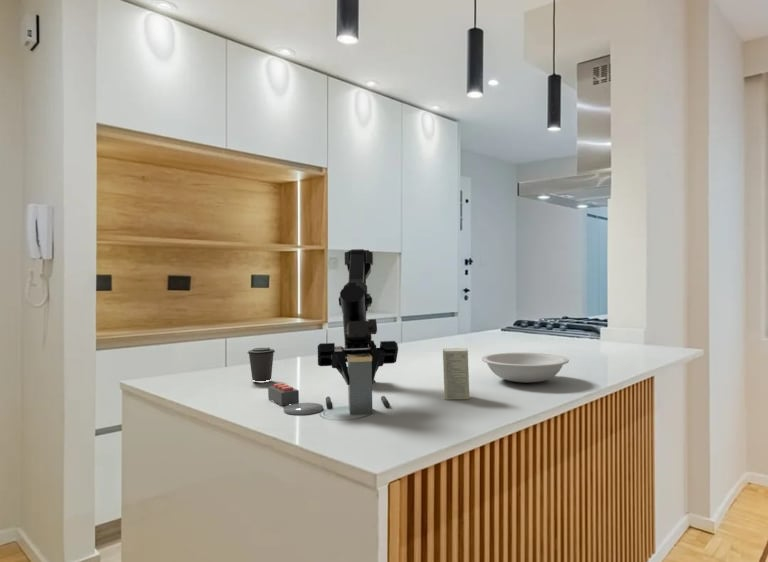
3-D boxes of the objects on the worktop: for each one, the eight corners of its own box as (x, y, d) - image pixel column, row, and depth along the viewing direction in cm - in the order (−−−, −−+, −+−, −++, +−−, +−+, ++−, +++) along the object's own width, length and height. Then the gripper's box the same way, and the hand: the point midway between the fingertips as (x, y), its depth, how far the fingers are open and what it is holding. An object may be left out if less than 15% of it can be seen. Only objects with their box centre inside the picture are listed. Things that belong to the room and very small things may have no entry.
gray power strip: (268, 399, 132) (268, 383, 132) (284, 396, 135) (284, 381, 135) (281, 406, 125) (281, 389, 125) (298, 403, 127) (298, 387, 127)
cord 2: (380, 400, 128) (380, 396, 128) (385, 400, 128) (385, 395, 128) (384, 407, 121) (384, 402, 121) (389, 407, 122) (389, 402, 122)
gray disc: (312, 403, 127) (312, 400, 127) (329, 410, 119) (329, 408, 119) (277, 408, 122) (277, 406, 122) (292, 417, 115) (292, 414, 115)
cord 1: (325, 401, 129) (325, 396, 129) (330, 401, 129) (330, 396, 129) (326, 408, 122) (326, 403, 122) (331, 408, 122) (331, 403, 122)
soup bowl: (465, 379, 154) (464, 357, 154) (525, 371, 166) (524, 350, 166) (524, 394, 133) (523, 368, 133) (587, 383, 145) (587, 359, 145)
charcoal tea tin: (348, 409, 121) (347, 354, 121) (370, 407, 122) (369, 353, 122) (349, 414, 116) (348, 357, 116) (373, 413, 116) (372, 356, 116)
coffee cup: (281, 380, 157) (280, 347, 157) (261, 385, 150) (261, 350, 150) (262, 378, 161) (261, 345, 161) (241, 382, 154) (241, 349, 154)
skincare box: (468, 395, 132) (467, 347, 132) (469, 400, 128) (468, 350, 128) (443, 395, 133) (442, 348, 133) (443, 399, 128) (442, 350, 128)
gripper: (316, 308, 121) (318, 363, 110) (396, 306, 124) (405, 360, 113) (317, 338, 129) (318, 393, 118) (391, 336, 132) (399, 389, 121)
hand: (360, 383), depth 117 cm, fingers closed on charcoal tea tin, 5 cm apart
